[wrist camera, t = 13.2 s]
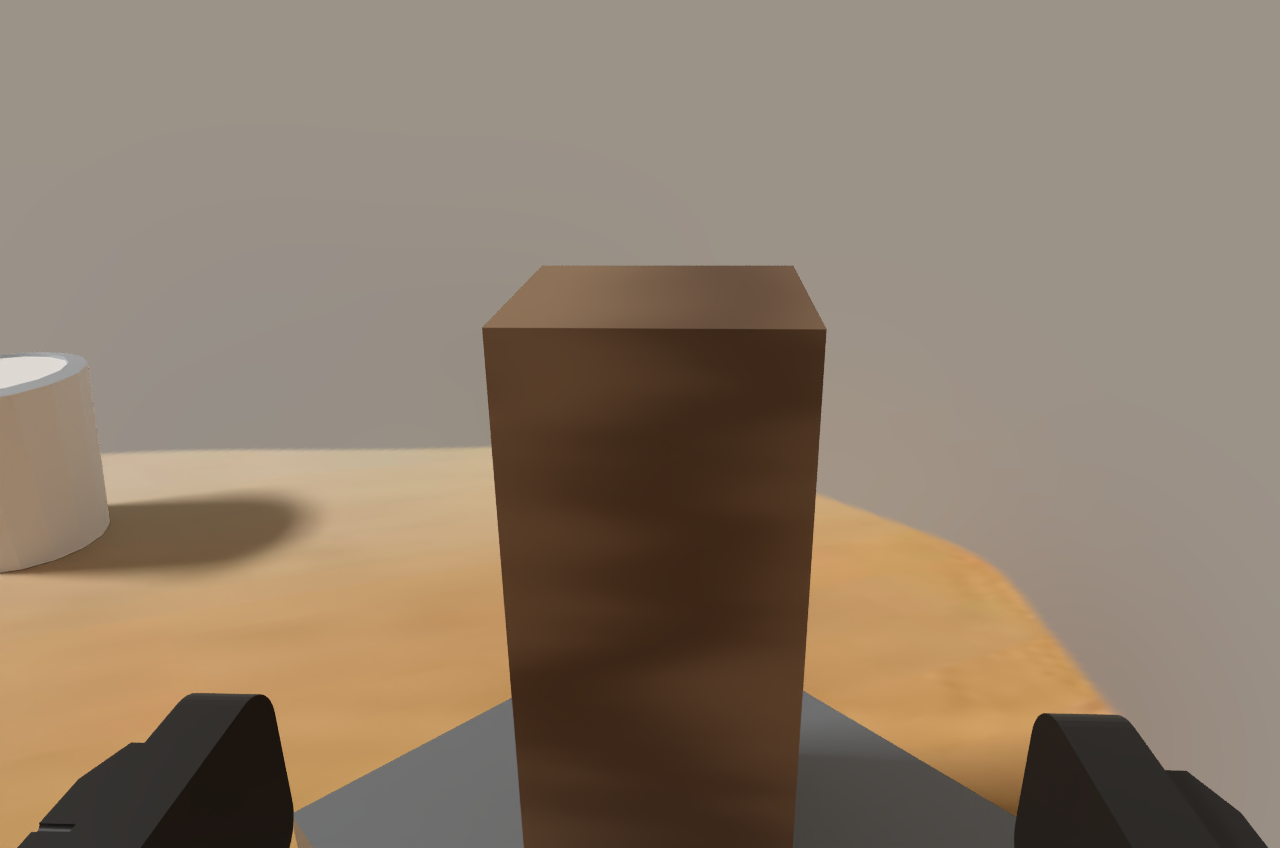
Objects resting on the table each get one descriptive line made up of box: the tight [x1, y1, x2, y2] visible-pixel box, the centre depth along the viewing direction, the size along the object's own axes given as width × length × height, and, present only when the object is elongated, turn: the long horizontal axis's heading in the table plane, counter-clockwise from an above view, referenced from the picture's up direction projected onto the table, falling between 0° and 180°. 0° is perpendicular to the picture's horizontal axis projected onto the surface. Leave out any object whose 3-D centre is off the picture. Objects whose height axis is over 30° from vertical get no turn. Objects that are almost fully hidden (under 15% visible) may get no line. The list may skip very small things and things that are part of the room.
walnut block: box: [482, 266, 826, 848], centre depth 17 cm, size 5×5×12 cm
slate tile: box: [293, 691, 1016, 848], centre depth 19 cm, size 12×12×1 cm
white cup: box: [0, 352, 110, 573], centre depth 34 cm, size 7×7×7 cm
